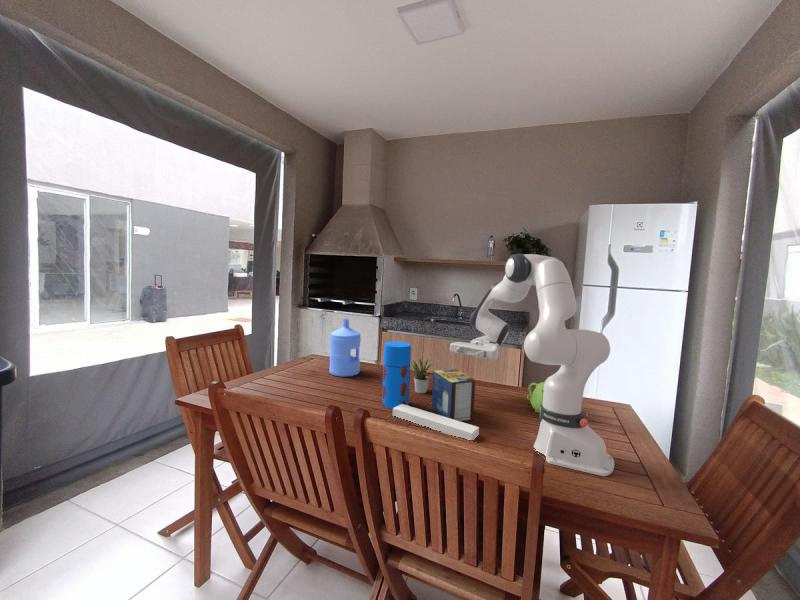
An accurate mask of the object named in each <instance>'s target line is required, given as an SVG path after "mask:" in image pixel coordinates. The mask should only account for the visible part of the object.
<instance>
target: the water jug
mask: <svg viewBox="0 0 800 600" xmlns="http://www.w3.org/2000/svg"><path fill="white" fill-rule="evenodd" d="M349 324H350V319H349V318H348V319H347V318H344V319H342V327H340V328H338V329H336V330H333V331H331V332H330V336H329V337H330V338H329V342H330V343H329V345H330V347H329V374H330V375H332V376H335V377H340V378H341V377H343V378H345V377H346V378H348V377H354V375H355V376H357V375H359V373H360V371H361V368H360V367H361V366H360V363H361V362H360V361H361V360H360V348H361V341H362V340H361V339H362V337H361V333H360V332H359V331H357V330H356V329H353V328H351V327H350V325H349ZM352 350H355V356H354V355H353V356H352V355H351V351H352Z"/></svg>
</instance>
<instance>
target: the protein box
mask: <svg viewBox="0 0 800 600" xmlns="http://www.w3.org/2000/svg"><path fill="white" fill-rule="evenodd" d="M432 371H433V372H432V373H433V374H432V393H431V409H432V410H433V411H434V412H435V413H437V415H440V416H444V417H447V418H450V419H454V420H457V421H460V422H467V421H473V420H474V417H475V416H474V415H475V414H474V413H475V397H476V395H475V394H476V379H475V378H473V377H471V376H469V375H468V374H465V373H464V372H462V371H459V370H458V369H456V368H449V369H437V370H432Z"/></svg>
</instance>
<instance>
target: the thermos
mask: <svg viewBox="0 0 800 600" xmlns="http://www.w3.org/2000/svg"><path fill="white" fill-rule="evenodd" d="M411 359H412V345H411V343H408V342H404V341H388V342H385V343H384V347H383V368H382V370H383V373H382V406H383V407H384V408H386V409H388V408H389V409H390V410H393V408H394V407H396V406H399V405H401V404H404V405H408V406H409V400H410V386H411V385H410V382H411V362H412V360H411ZM389 409H388V410H389Z"/></svg>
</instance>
